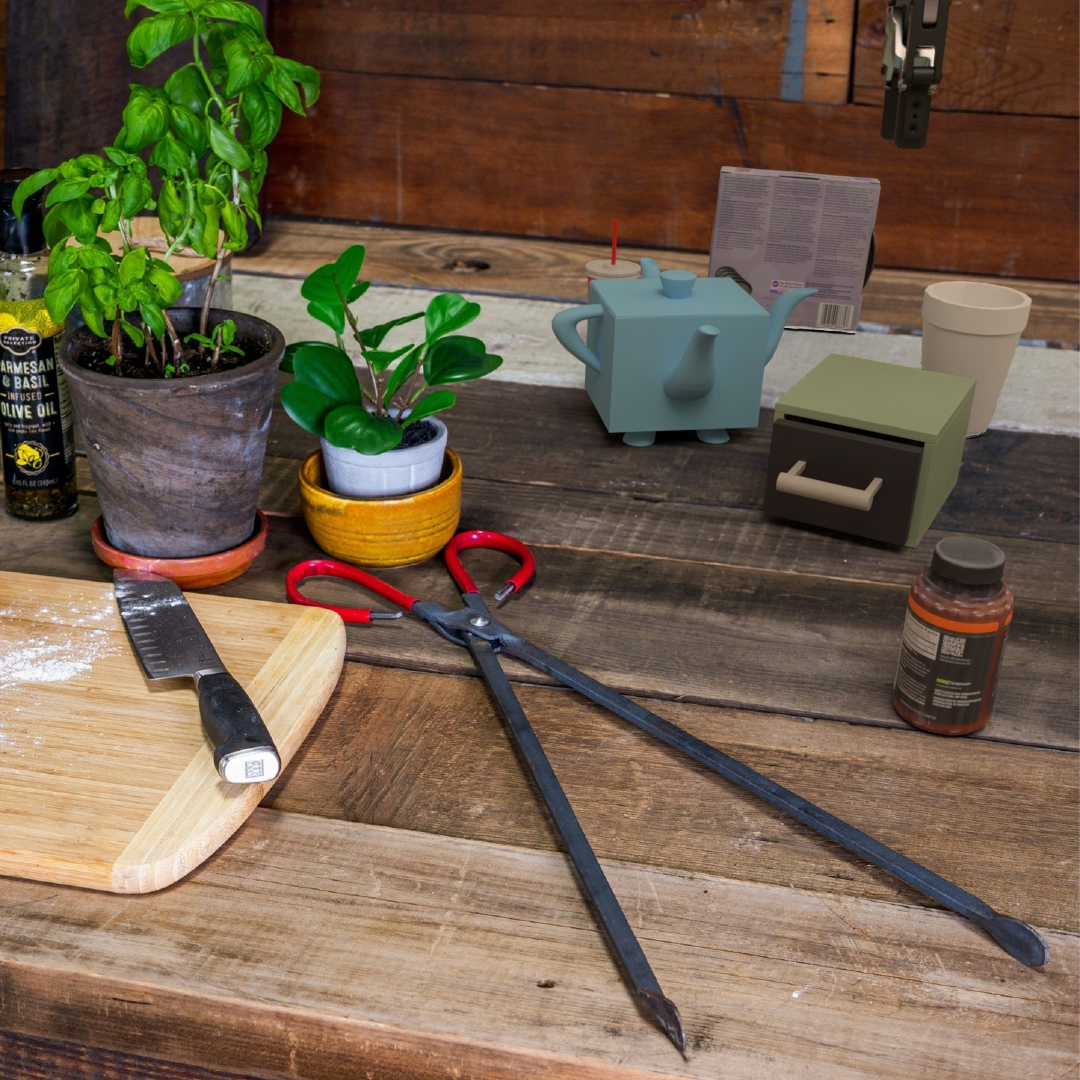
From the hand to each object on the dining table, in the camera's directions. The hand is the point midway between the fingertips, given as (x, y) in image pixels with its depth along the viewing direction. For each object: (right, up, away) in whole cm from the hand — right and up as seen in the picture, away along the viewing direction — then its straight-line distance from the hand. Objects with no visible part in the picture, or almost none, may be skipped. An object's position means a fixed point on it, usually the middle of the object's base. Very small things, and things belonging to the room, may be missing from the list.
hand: (901, 143), depth 95 cm
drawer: (-2, -28, +7) cm, 28 cm away
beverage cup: (-20, -8, +46) cm, 51 cm away
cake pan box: (+2, -4, +55) cm, 55 cm away
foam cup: (+13, -19, +26) cm, 35 cm away
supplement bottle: (-3, -41, -17) cm, 45 cm away
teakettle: (-14, -19, +25) cm, 35 cm away
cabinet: (0, -26, +11) cm, 29 cm away
